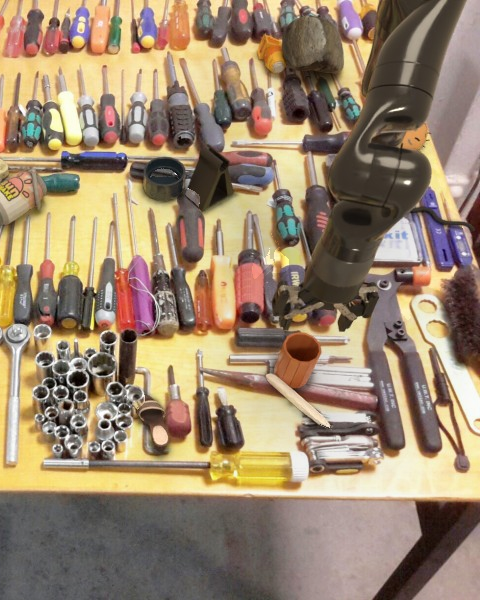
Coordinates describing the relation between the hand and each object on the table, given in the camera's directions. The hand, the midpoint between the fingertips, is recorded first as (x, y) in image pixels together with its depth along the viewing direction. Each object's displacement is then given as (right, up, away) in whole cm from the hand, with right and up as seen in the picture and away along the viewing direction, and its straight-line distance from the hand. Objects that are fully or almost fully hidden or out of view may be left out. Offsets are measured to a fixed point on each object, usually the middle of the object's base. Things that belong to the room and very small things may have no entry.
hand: (312, 326), depth 99 cm
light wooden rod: (+1, -14, +9) cm, 17 cm away
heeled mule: (-24, -18, +9) cm, 31 cm away
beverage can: (-55, +23, +35) cm, 69 cm away
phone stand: (-8, +27, +39) cm, 48 cm away
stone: (+16, +64, +51) cm, 84 cm away
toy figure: (+13, +62, +57) cm, 85 cm away
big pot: (-18, +29, +41) cm, 54 cm away
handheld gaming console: (-56, +31, +44) cm, 77 cm away
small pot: (+1, -9, +13) cm, 16 cm away
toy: (+36, +41, +44) cm, 70 cm away
